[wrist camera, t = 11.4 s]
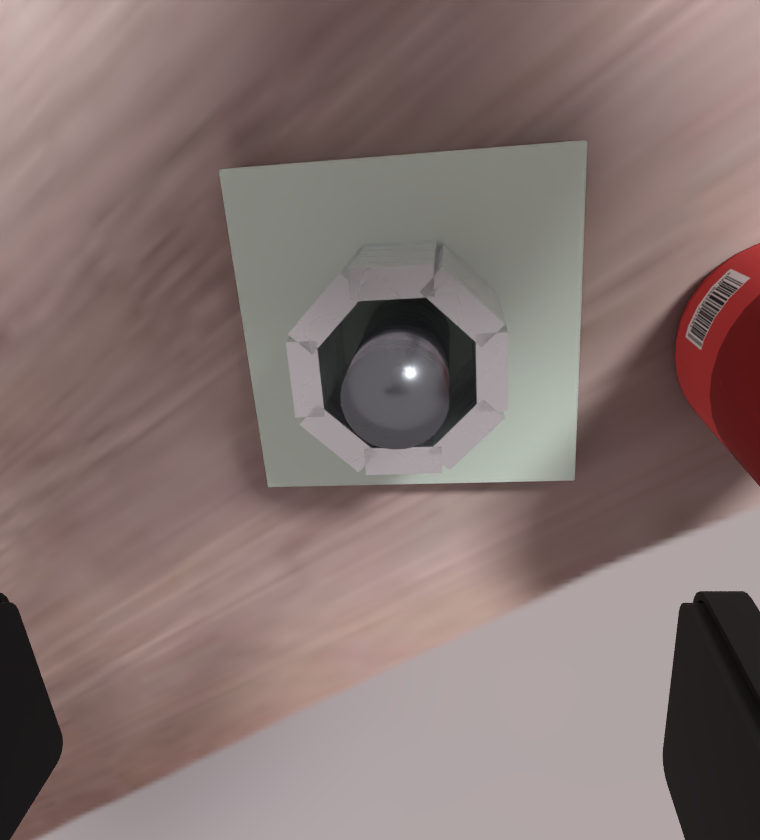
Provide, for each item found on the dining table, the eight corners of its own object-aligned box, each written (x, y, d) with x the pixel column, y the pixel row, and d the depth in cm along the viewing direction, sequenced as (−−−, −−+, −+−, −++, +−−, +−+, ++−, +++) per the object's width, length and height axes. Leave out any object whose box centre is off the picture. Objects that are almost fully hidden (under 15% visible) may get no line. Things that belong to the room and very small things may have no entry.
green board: (230, 167, 26) (218, 169, 25) (579, 140, 25) (587, 140, 23) (276, 471, 31) (268, 487, 30) (568, 464, 30) (574, 480, 28)
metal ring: (308, 247, 26) (276, 272, 21) (497, 236, 25) (508, 259, 20) (326, 420, 28) (302, 476, 24) (498, 415, 27) (508, 472, 23)
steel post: (363, 296, 26) (335, 349, 20) (448, 292, 26) (447, 345, 19) (370, 376, 27) (345, 450, 21) (451, 372, 27) (451, 448, 20)
